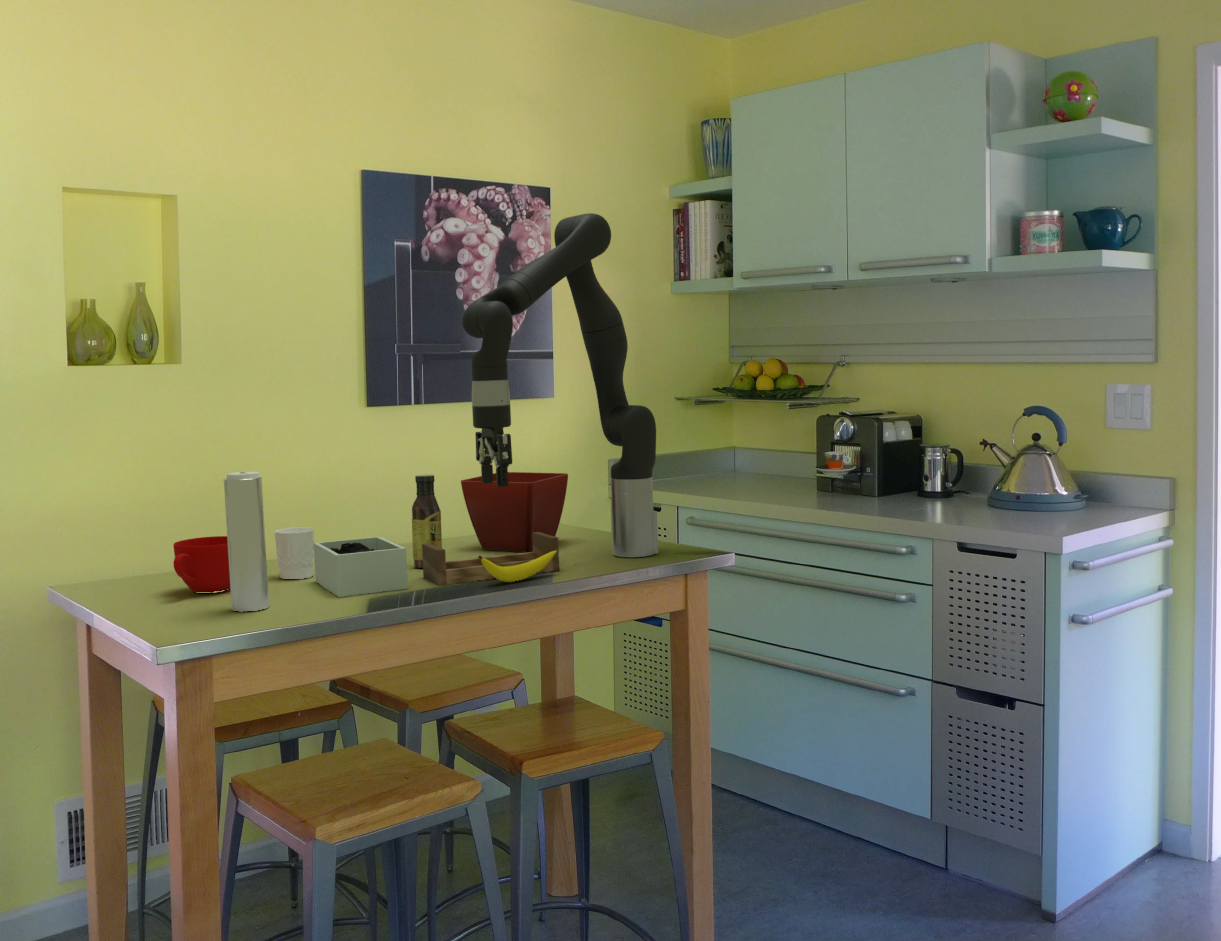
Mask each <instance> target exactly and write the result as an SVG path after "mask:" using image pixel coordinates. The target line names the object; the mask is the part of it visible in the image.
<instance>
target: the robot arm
mask: <svg viewBox="0 0 1221 941" xmlns="http://www.w3.org/2000/svg"><path fill="white" fill-rule="evenodd" d="M553 235H554V246H555V247H554V248H552V249H551V250H549V251H547V252H546V253H544V254H542V255H541V256H539V257H537V258H535V259H532V260H531V261H530V262H528V263H526V264H525V265H523V266H522V267H520V268H519V269H518V270H516V272H514V273H513V274H512V275H510V276H509V277H508V278H507V279H506V280H504V282H503V283H501V285H499V286H497V287H496V288H494V289H492V290H490V291H489V292H487V293H485V294H484V295H482V296H480V297H479V298H477V299H476V300H474V301H472V302H471V303H470V304H469V305H468V306H467V307H466V309H465V310H464V312H463V315H462V320H461V322H462V327H463V329H464V331H465V333H466V334H467V335H469V336H470V337H473V338H475V339H482V341H481V348H480V349H479V350H477V351H476V352H475V351H474V353H473V354H472V356H471V381H472V384H471V405H472V406H471V408H472V409H471V411H472V426H473V428H475V429H481V430H480V431H475V459H476V461H477V462H478V463H479V464H480V467H481V468H480V470H481V471H480V472H481V473H480V474H481V476H482V483H485V484H486V483H492V482H493V474H494V469H493V468H494V467H493V465H495V473H496V484H497V486H498V487H506V486H508V472H509V470H508V468H509V467H510V465H512V464H513V450H512V435H511V434H510V433H505V432H504V429H505V428H509V427H511V425H512V414H511V412H512V411H511V395H510V394H511V393H510V386H509V381H508V379H509V374H508V372H509V371H508V354H509V352H510V347H511V341H512V338H513V331H514V320H513V317H514V316H517V315H520V314H521V313H523V312H525V311H527V310H528V309H529V308H531V306H532V305H533V304H534V303H536V302H538V300H539V299H540V298H542V297H543V295H545V294H546V293H547V292H548V291H549V290H551V289H552V288H554V286H555V285H557V284H558V283H559V282H560V281H562V280H563V279H564V278H566V281H567V282H568V286H569V289H570V292H571V293H570V294H571V296H572V300H573V303H574V307H575V311H576V314H577V317H578V322H579V326H580V331H581V335H582V339H583V343H584V347H585V351H586V353H587V357H588V361H589V365H590V369H591V374H592V378H593V379H592V380H593V382H594V386H595V393H596V399H597V403H598V404H597V405H598V411H599V420H600V424H601V425H600V426H601V428H602V429H601V430H602V432H603V435H604V437H605V438H606V440H607V441H608V442H609V443H610V444H612V445H613V446H618V447H622V448H621V450H622V451H621V457H620V459H619V460H618V461H617V462H615V463H614V464H612V465H611V466H610V494H611V524H612V554H613V556H615V557H619V558H642V557H649V556H653V555H658V554H659V535H658V532H659V531H658V512H657V510H654V488H653V485H654V483H653V480H654V479H653V469H654V466H655V464H656V458H657V457H656V456H657V455H656V454H657V426H656V425H657V424H656V419H655V416H654V414H653V412H652V411H651V410H650V409H649V408H648V407H647V406H644V405H639V404H636V405H635V404H634V405H633V404H629V402H628V401H629V400H628V398H627V395H626V391H625V385H624V370H625V365H626V361H627V356H628V339H627V338H628V337H627V334H626V329H625V324H624V322H623V318H622V315H621V313H620V311H619V309H618V307H617V305H616V304H615V303H614V301H613V300H612V299H611V298H610V296H609V295H608V293H607V292H606V291H605V290H604V288H603V287H602V285H601V283H600V282H599V280H598V278H597V276H596V273H595V271H594V270H595V269H594V267H593V264H592V260H593V259H595V258H597V257H599V256H601V255H602V254H604V253H605V252H606V251H607V250H608V248H609V246H610V243H611V240H612V229H611V227H610V224H609V223H608V221H607V220H606V218H605V217H603V216H602V215H600V214H598V213H583V214H578V215H572V216H568V217H565V218H562V219H561V220H559V221H558V223H557V224H556V226H555V229H554V234H553ZM504 433H505V434H504ZM493 463H494V464H493Z"/></svg>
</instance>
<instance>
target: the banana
mask: <svg viewBox="0 0 1221 941" xmlns="http://www.w3.org/2000/svg"><path fill="white" fill-rule="evenodd" d="M556 552H557V550H555V551H552V552H549V553H547V554H545V555H543V556H541V557H539V558H537V559H535V560H532V561H529V562H526V563H523V564H519V565H514V566H507V567H502V566H498V565H496V564H494V563H492V562H491V561H489V560H487V559H485V558H483V556H481V555H478V557H477V558H480V559H481V562H482V564H483V566H484V567H485V569H486V570H487V571H488V572H489V573H490V574H491V575H492V576H493V577H495V578H496V580H498V581H500V582H503V583H507V584H508V583H516V582H515V581H517V582H520V581H523V580H525V579H527V578H529V577H532V576H533V575H536V573H537V572H539V571H540V570H542V569H543V568H544V567H545V566H546V565H547V564H548V563H549V562H550V561H551V560H552V558H553V557H554V555H555V553H556ZM519 580H520V581H519Z"/></svg>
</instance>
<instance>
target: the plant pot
mask: <svg viewBox="0 0 1221 941" xmlns="http://www.w3.org/2000/svg"><path fill="white" fill-rule="evenodd" d="M568 479H569V473H567V472H566V473H565V472H563V473H559V472H524V471H523V472H521V471H519V472H518V471H508V486H506V487H498V486H497V484H496V472H495V473H494V472H493V482H492V483H486V484H485V483H482V475H480V476H475V477H471V478H465V479H462V480H460V485H461V489H462V494H463V499H464V503H465V506H466V510H467V512H468V517H469V518H470V522H471V525H472V527H473V531H474V533H475V535H476V538H477V540H478V543H479V544H480V547H481V548H482V550H485V551H486V550H487V551H499V550H503V551H502V552H517V551H529V552H533V551H532V550H533V541H532V532H541V533H544V534H548V535H551V536H555V537H557V536H556V535H557V533H558V529H559V525H560V522H561V518H562V515H563V511H564V507H565V506H564V505H565V500H566V495H567V487H568Z"/></svg>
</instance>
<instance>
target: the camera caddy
mask: <svg viewBox="0 0 1221 941" xmlns="http://www.w3.org/2000/svg"><path fill="white" fill-rule="evenodd" d="M345 543H350V544H352V543H361V544H363V545H364V546H366V547H368V548H369V549H370V550H371V549H374V550H375V551H368V552H358V553H349V554H337V553H336V552H334V551H332V550H330V549H331V548H338V549H339V550H340V548H341V545H342V544H345ZM407 565H408V562H407V548H406V547H405V546H402V545H399V544H397V543H396V542H392V541H390V540H389V539H387V538H384V537H381V536H371V537H370V536H369V537H361V538H350V539H341V540H340V539H339V540H331V541H330V540H329V541H322V542H321V541H320V542H314V571H315V572H314V574H315V582H316V583H317V584H318V583H319V584H318V585H320V586H322V587H323V588H324V589H326V590H327V591H329V592H330V593H331V592H332V594H333V595H334V594H335V596H336V597H337V598H344V597H351V595H352V596H358V595H359V594H361V595H365V594H366V595H368V593H369V594H376V593H384V592H383V591H385V592H392V591H400V590H408V589H409V584H408V583H409V582H408V580H409V579H408V566H407Z"/></svg>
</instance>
